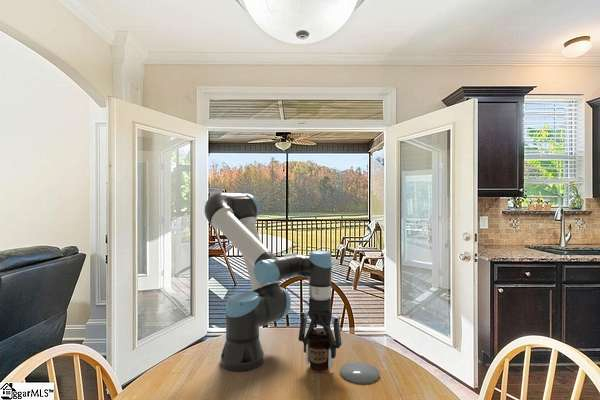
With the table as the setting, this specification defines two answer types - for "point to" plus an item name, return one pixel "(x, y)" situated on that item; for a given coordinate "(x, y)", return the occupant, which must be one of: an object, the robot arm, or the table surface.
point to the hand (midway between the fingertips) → (319, 364)
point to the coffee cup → (318, 350)
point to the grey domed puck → (359, 372)
